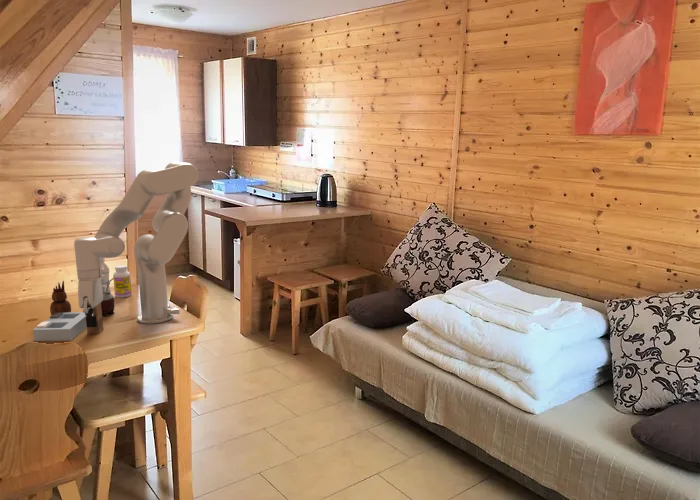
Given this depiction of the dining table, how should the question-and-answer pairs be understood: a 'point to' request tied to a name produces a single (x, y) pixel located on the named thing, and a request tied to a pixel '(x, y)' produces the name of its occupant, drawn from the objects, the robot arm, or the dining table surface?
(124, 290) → the supplement bottle
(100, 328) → the plug
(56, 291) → the wooden figurine
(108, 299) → the mate gourd
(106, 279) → the plastic bottle
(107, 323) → the dining table surface
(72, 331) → the socket board
